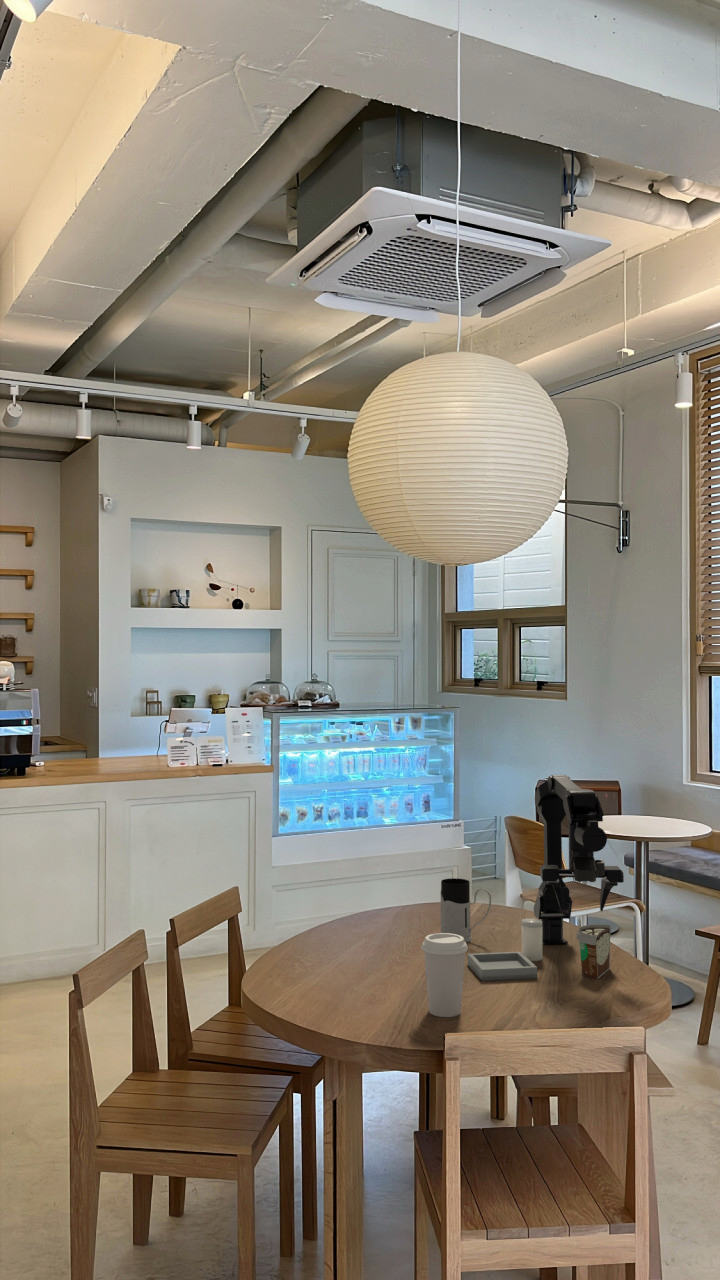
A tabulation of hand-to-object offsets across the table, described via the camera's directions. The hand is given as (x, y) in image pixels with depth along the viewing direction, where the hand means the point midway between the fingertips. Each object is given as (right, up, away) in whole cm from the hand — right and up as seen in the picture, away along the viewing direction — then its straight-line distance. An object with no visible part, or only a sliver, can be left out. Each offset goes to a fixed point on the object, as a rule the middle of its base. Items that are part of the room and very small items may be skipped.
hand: (581, 910), depth 228 cm
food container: (+2, -14, -2) cm, 14 cm away
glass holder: (-24, -15, +27) cm, 39 cm away
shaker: (-10, -14, +10) cm, 20 cm away
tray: (-19, -14, -1) cm, 24 cm away
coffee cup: (-35, -13, -29) cm, 47 cm away
